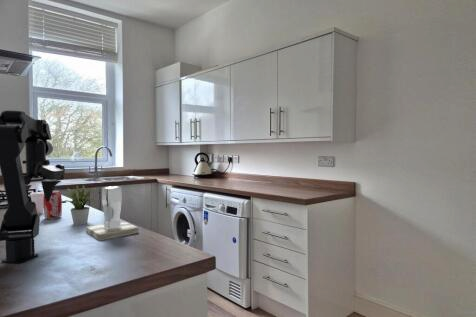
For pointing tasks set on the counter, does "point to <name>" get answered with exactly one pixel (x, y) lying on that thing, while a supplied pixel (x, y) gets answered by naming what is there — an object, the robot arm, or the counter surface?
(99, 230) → the shelf board
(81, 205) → the house plant
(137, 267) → the counter surface
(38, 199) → the smoothie
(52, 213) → the soda can
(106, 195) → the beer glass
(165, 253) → the counter surface
